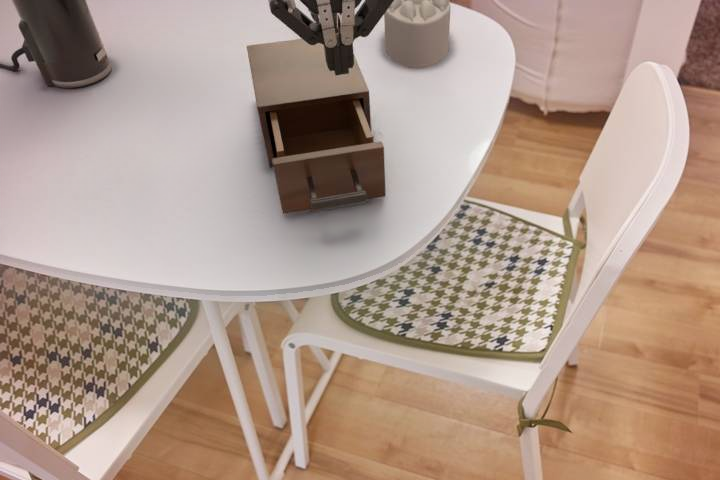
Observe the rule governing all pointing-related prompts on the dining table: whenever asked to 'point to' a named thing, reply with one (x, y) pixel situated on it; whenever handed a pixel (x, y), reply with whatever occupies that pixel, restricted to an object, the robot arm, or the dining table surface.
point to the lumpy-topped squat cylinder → (417, 32)
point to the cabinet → (299, 82)
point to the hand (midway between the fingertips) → (340, 69)
